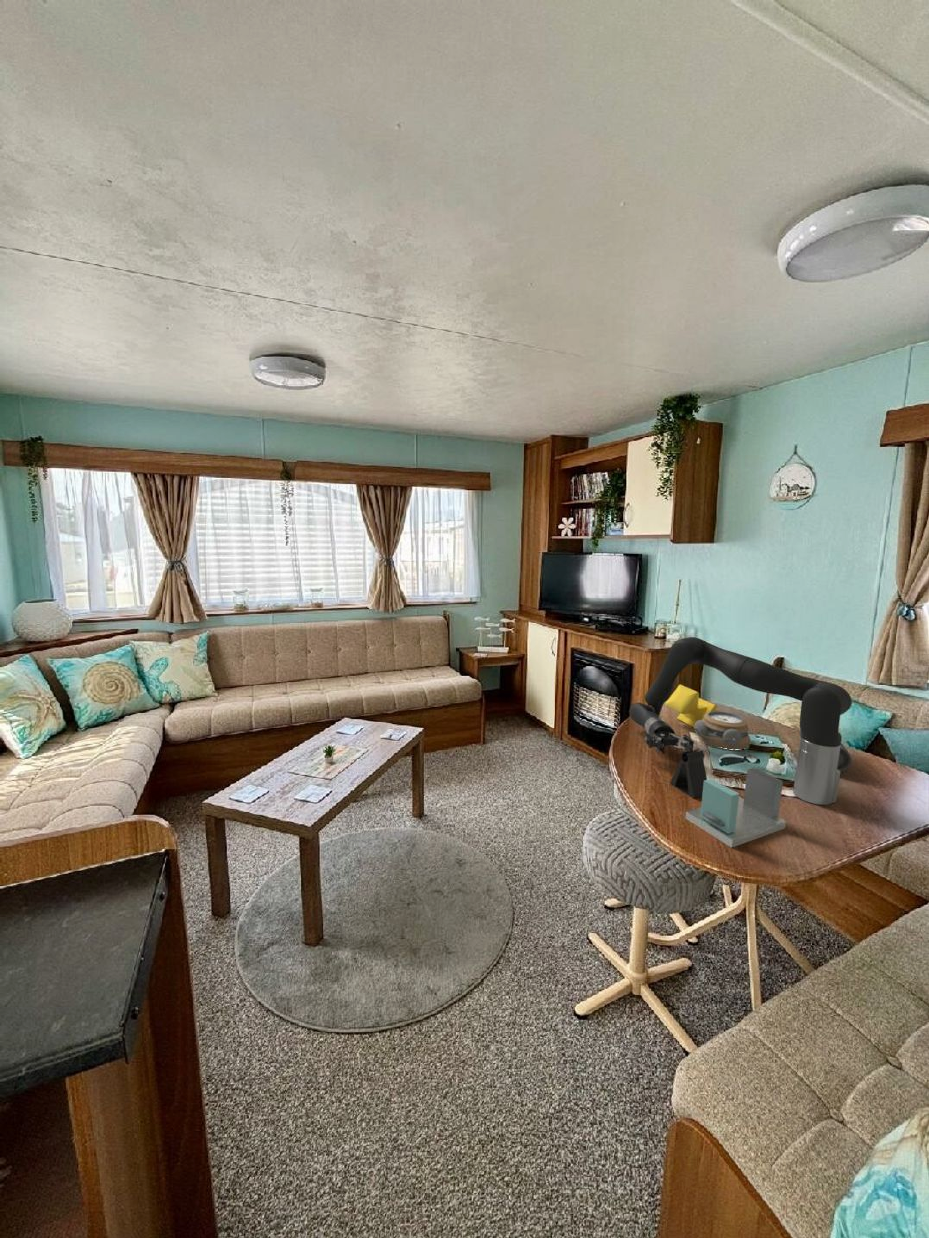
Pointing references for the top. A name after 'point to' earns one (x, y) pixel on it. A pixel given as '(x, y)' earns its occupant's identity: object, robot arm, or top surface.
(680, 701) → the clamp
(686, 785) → the phone stand
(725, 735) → the alarm clock
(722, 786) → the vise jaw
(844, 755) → the bluetooth speaker
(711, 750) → the top surface
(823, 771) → the robot arm
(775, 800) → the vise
